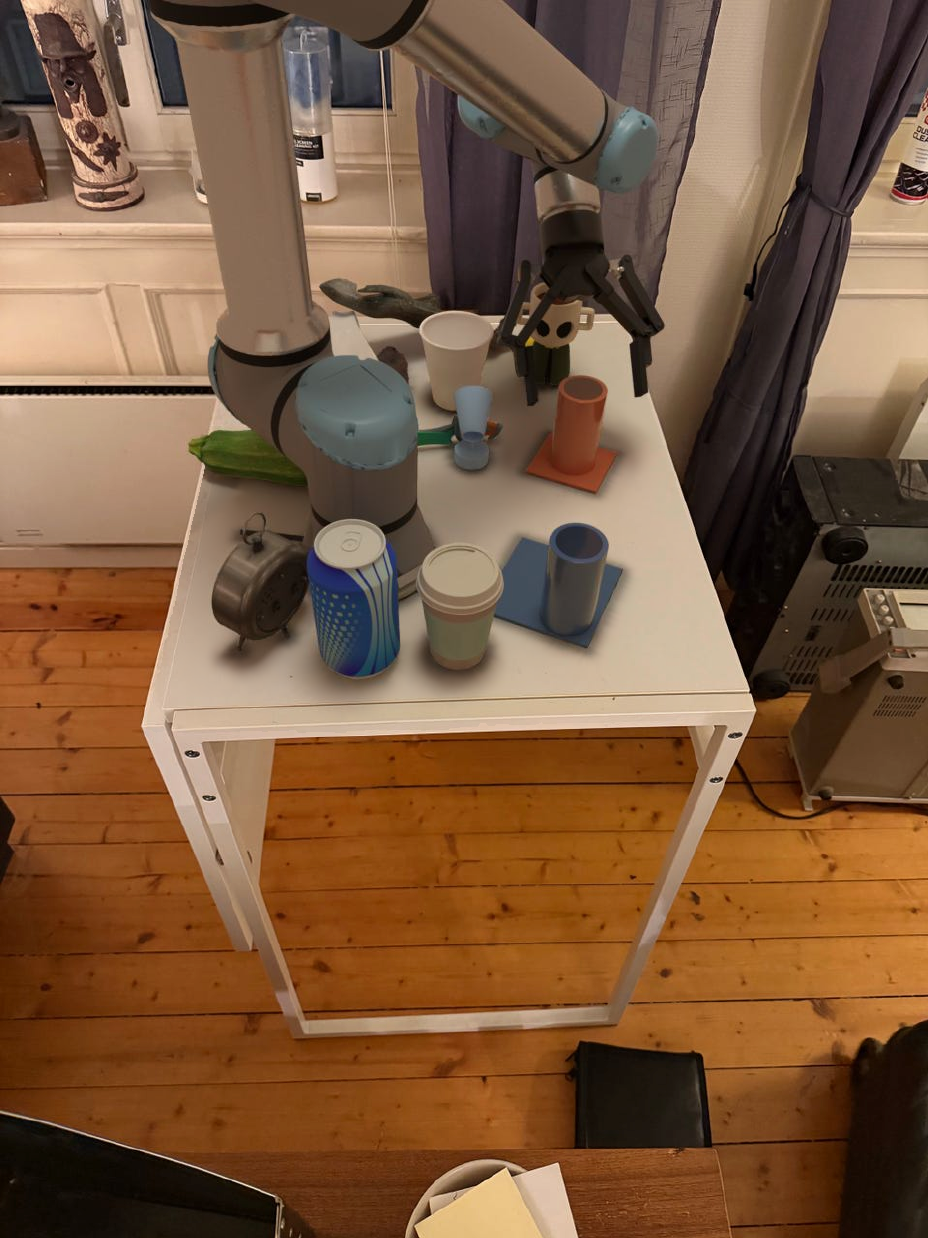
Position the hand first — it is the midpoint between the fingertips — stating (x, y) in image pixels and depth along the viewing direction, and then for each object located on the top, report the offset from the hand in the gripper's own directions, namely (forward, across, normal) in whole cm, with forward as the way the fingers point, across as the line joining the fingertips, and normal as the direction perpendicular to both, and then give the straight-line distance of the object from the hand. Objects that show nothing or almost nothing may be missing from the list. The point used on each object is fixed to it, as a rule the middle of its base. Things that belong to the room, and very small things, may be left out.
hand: (587, 399), depth 104 cm
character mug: (-8, -2, -24) cm, 25 cm away
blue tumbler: (+25, +8, +9) cm, 28 cm away
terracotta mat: (+6, 0, -10) cm, 12 cm away
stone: (-11, +23, -26) cm, 37 cm away
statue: (-16, +1, -30) cm, 35 cm away
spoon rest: (-10, +27, -26) cm, 39 cm away
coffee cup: (+27, +21, +10) cm, 35 cm away
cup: (-5, +12, -22) cm, 26 cm away
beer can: (+26, +31, +9) cm, 42 cm away
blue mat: (+22, +8, +6) cm, 24 cm away
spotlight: (+4, +13, -12) cm, 18 cm away
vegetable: (+4, +30, -8) cm, 31 cm away
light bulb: (-12, +1, -28) cm, 31 cm away
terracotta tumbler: (+6, 0, -10) cm, 11 cm away
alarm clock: (+23, +40, +6) cm, 46 cm away
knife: (+2, +18, -14) cm, 23 cm away
